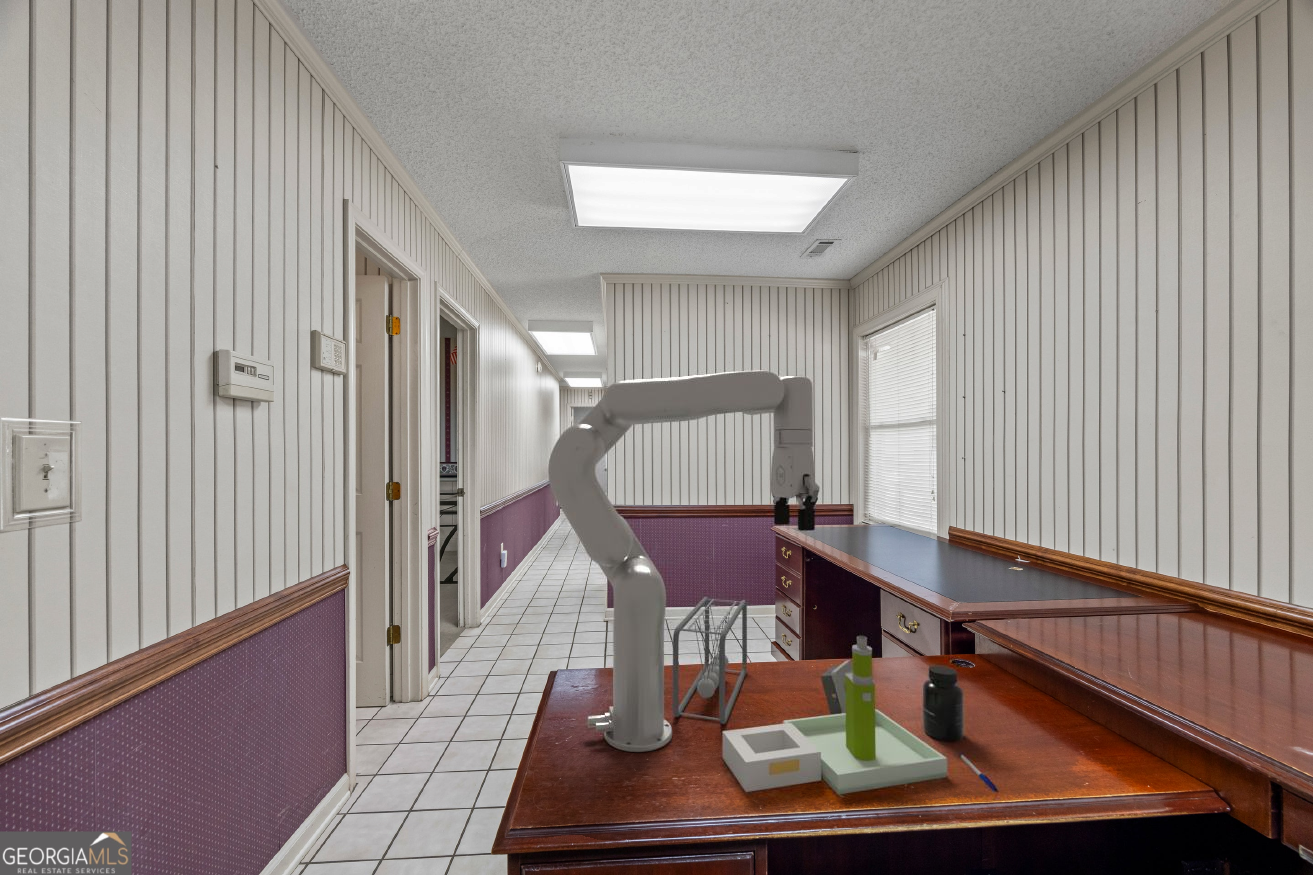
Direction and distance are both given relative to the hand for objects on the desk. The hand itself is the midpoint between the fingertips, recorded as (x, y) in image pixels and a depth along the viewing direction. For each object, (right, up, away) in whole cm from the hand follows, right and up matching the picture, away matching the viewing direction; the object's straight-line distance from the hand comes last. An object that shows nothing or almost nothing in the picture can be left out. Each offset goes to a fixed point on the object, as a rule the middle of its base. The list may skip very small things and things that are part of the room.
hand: (793, 527), depth 107 cm
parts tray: (+9, -38, -12) cm, 41 cm away
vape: (+9, -37, -12) cm, 40 cm away
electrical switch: (+11, -39, +5) cm, 41 cm away
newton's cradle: (-14, -39, +14) cm, 44 cm away
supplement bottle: (+27, -39, -4) cm, 47 cm away
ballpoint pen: (+26, -38, -17) cm, 49 cm away
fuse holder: (-8, -38, -16) cm, 42 cm away
